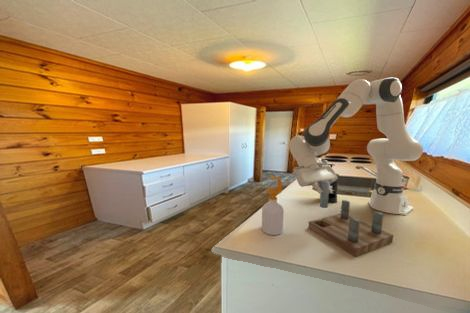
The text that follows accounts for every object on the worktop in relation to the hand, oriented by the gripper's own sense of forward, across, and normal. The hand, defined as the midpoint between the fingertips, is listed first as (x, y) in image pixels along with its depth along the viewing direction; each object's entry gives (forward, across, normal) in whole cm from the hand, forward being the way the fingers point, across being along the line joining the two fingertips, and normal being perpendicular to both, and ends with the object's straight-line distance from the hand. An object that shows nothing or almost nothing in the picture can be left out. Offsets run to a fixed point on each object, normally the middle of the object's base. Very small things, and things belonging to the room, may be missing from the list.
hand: (325, 192), depth 83 cm
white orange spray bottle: (+6, -20, +19) cm, 28 cm away
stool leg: (+4, 0, +5) cm, 7 cm away
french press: (-6, +34, +31) cm, 46 cm away
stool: (+17, +7, +8) cm, 20 cm away
